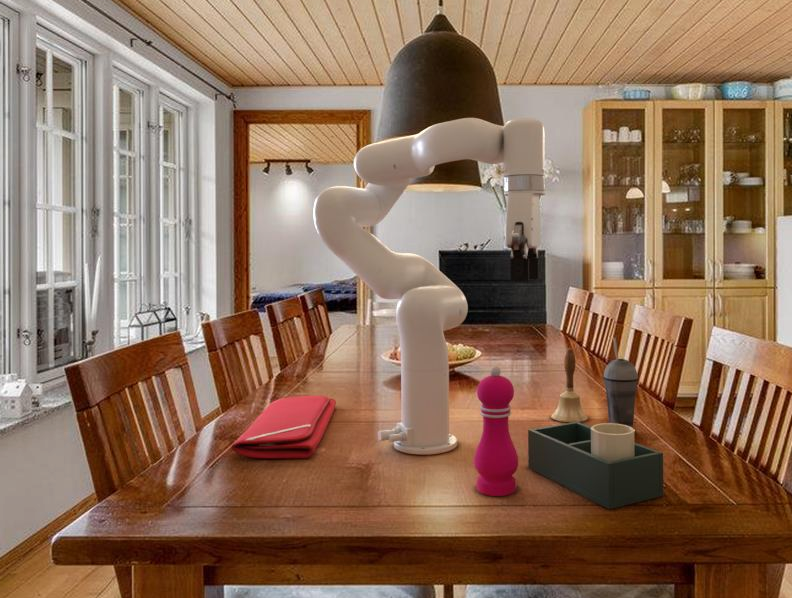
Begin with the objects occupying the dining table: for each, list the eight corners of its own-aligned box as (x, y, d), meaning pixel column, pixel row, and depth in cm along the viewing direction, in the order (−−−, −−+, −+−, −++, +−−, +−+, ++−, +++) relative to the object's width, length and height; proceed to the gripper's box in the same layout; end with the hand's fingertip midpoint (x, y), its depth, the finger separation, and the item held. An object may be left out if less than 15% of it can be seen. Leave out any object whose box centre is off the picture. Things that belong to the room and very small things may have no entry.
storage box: (609, 509, 99) (608, 463, 99) (528, 467, 117) (528, 429, 118) (663, 496, 104) (663, 452, 104) (577, 458, 123) (577, 421, 123)
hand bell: (593, 416, 153) (592, 347, 153) (579, 424, 146) (579, 352, 146) (560, 412, 157) (559, 344, 157) (545, 419, 150) (544, 349, 150)
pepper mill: (505, 501, 102) (504, 371, 102) (465, 492, 106) (464, 367, 106) (526, 486, 108) (525, 364, 108) (487, 478, 112) (486, 360, 112)
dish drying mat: (337, 406, 164) (337, 391, 164) (315, 458, 123) (315, 438, 123) (273, 408, 163) (273, 393, 163) (229, 461, 122) (229, 441, 122)
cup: (611, 495, 101) (610, 436, 102) (582, 481, 107) (582, 426, 108) (644, 487, 105) (643, 431, 105) (615, 474, 111) (614, 421, 111)
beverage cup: (640, 438, 135) (639, 340, 135) (603, 436, 136) (602, 340, 136) (637, 429, 142) (636, 336, 142) (603, 427, 143) (602, 335, 144)
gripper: (514, 191, 131) (514, 278, 130) (493, 183, 114) (494, 282, 114) (552, 190, 128) (552, 278, 128) (536, 182, 112) (537, 282, 112)
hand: (525, 280), depth 121 cm, fingers open, 9 cm apart
